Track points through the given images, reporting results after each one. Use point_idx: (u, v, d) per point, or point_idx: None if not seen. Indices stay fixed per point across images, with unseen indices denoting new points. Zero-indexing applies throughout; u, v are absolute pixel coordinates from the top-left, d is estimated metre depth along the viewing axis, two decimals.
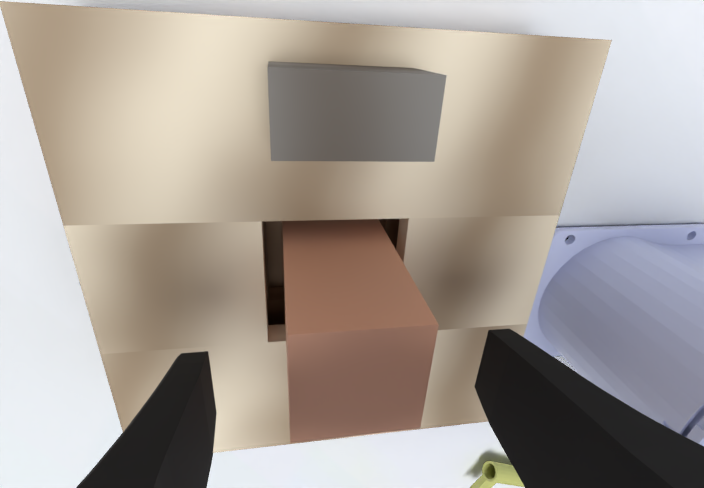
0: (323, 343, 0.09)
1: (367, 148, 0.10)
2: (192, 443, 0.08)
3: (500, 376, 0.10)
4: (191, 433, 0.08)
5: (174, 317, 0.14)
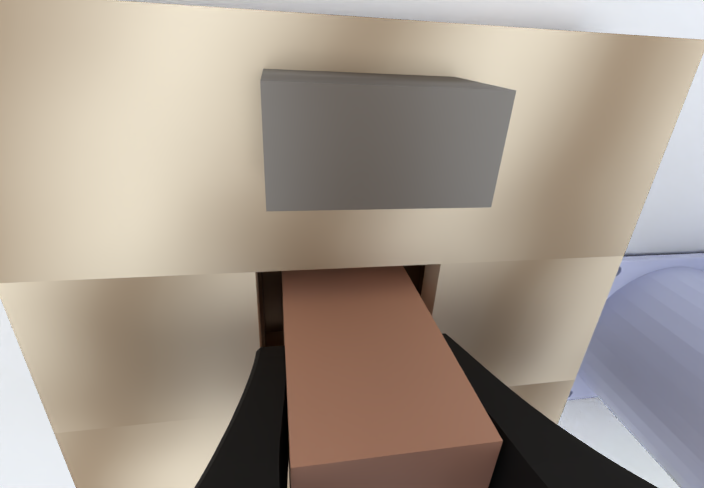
0: (341, 475, 0.06)
1: (400, 192, 0.07)
2: (285, 432, 0.08)
3: None
4: (284, 423, 0.08)
5: (146, 388, 0.11)
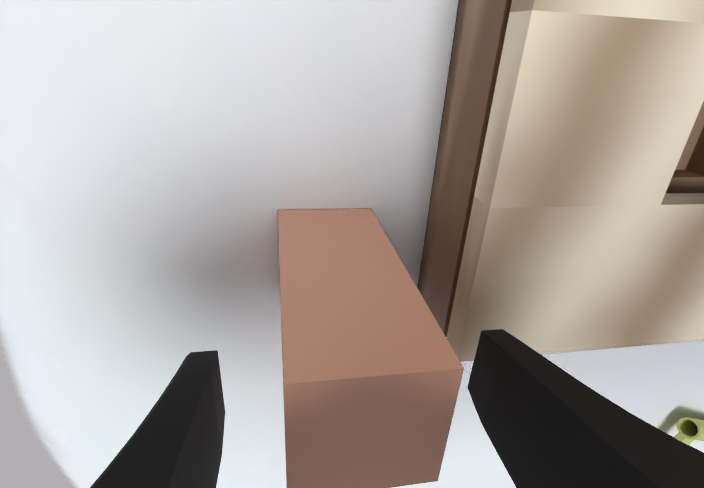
0: (326, 393, 0.08)
1: None
2: (203, 442, 0.08)
3: (492, 377, 0.10)
4: (202, 432, 0.08)
5: (585, 160, 0.11)
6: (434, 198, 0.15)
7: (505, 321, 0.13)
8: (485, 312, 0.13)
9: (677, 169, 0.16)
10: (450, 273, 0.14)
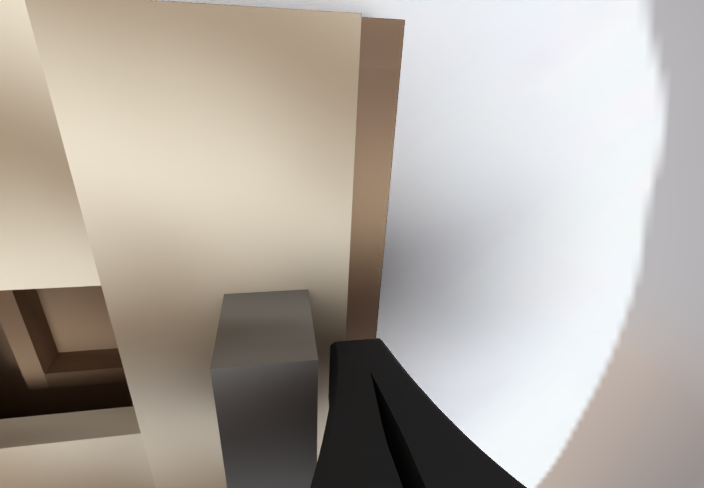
0: None
1: (236, 449, 0.09)
2: None
3: None
4: None
5: None
6: None
7: None
8: None
9: (55, 343, 0.14)
10: None
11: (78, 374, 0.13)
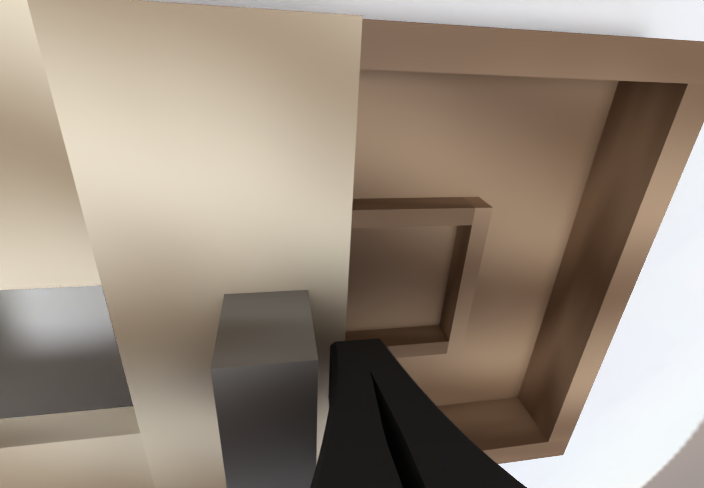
0: None
1: (236, 449, 0.09)
2: None
3: None
4: None
5: None
6: None
7: None
8: None
9: None
10: None
11: None
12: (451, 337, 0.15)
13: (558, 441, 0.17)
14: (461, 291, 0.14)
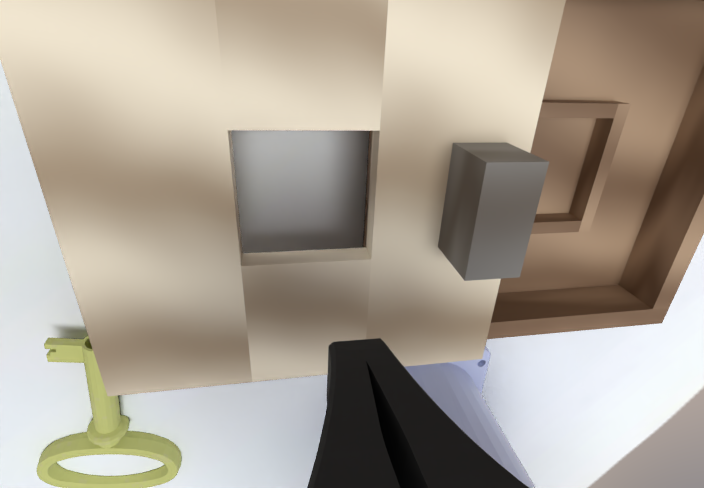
0: None
1: (482, 233, 0.13)
2: None
3: None
4: None
5: (266, 19, 0.11)
6: None
7: None
8: None
9: None
10: None
11: None
12: (584, 217, 0.20)
13: (660, 309, 0.21)
14: (597, 176, 0.19)
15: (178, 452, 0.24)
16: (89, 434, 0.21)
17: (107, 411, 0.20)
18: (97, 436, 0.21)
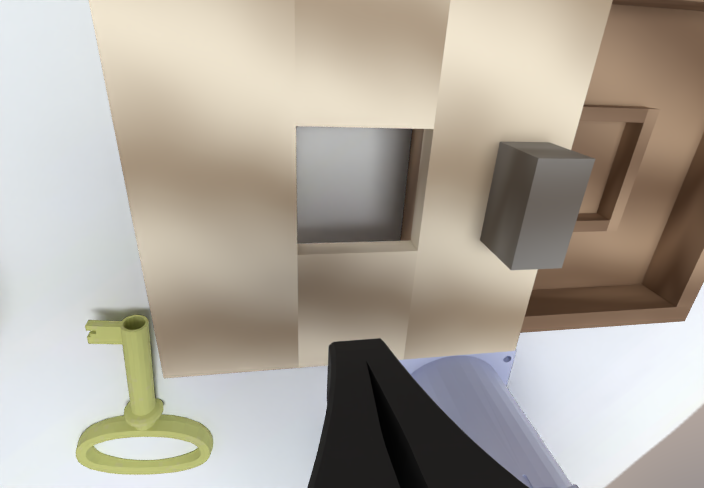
0: None
1: (530, 225, 0.14)
2: None
3: None
4: None
5: (339, 25, 0.12)
6: None
7: None
8: None
9: None
10: None
11: None
12: (612, 217, 0.21)
13: (683, 307, 0.22)
14: (626, 177, 0.20)
15: (210, 435, 0.25)
16: (126, 416, 0.22)
17: (143, 393, 0.21)
18: (134, 418, 0.22)
